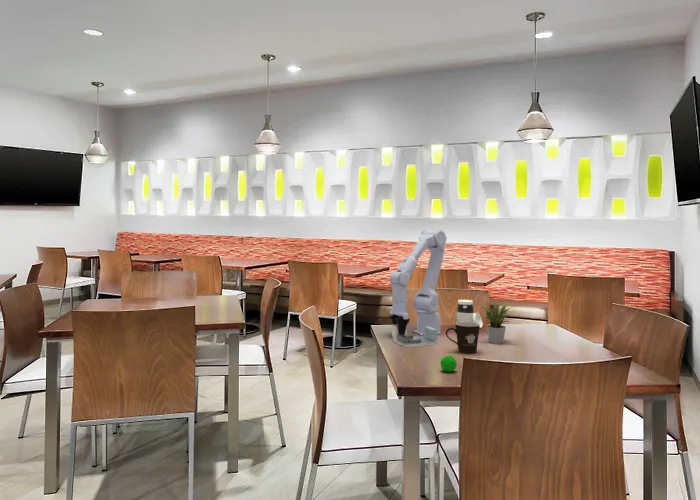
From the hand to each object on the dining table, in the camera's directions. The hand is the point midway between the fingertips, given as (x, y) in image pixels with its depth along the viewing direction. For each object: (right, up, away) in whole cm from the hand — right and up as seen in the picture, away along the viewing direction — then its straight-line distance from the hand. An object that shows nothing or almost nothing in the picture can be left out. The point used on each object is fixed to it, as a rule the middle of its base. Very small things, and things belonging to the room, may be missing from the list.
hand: (399, 333), depth 212 cm
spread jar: (+34, -1, +23) cm, 41 cm away
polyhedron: (+11, -4, -50) cm, 51 cm away
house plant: (+38, -2, -9) cm, 39 cm away
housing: (0, -1, 0) cm, 1 cm away
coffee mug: (+21, -3, -24) cm, 32 cm away
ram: (+12, 0, -8) cm, 14 cm away
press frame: (+5, -2, -10) cm, 11 cm away
